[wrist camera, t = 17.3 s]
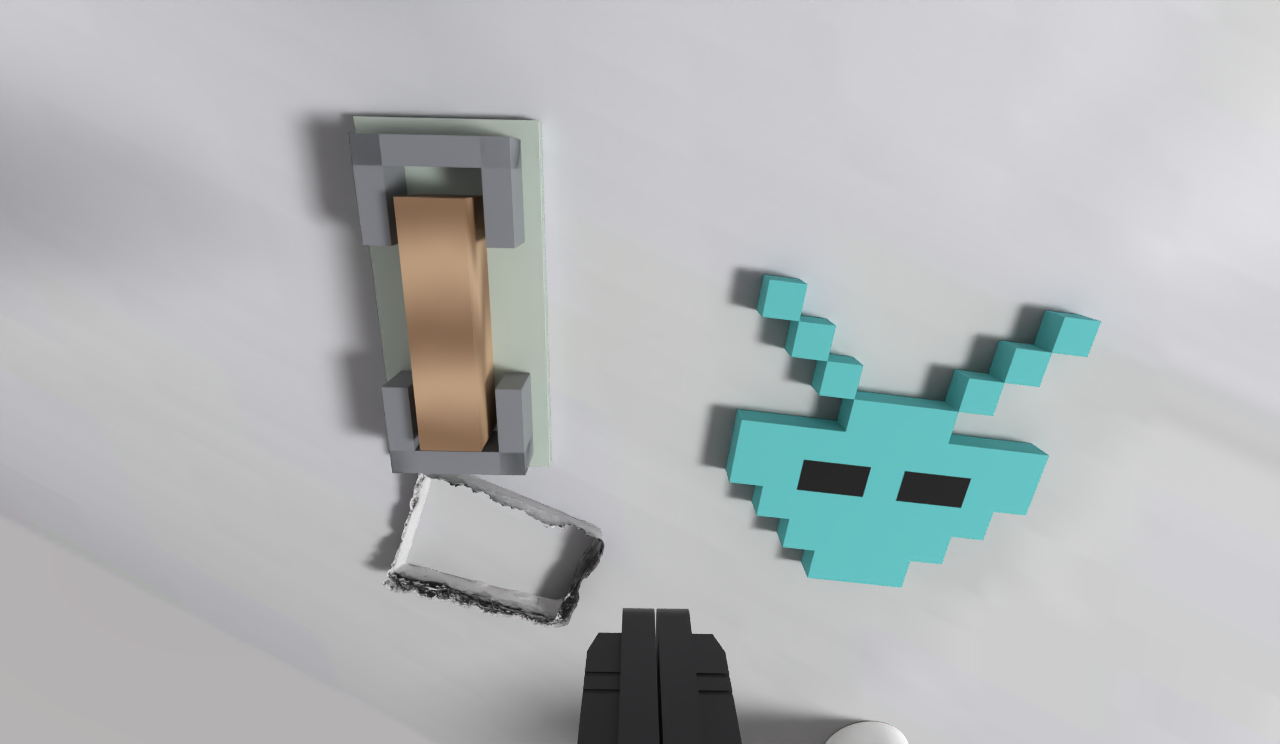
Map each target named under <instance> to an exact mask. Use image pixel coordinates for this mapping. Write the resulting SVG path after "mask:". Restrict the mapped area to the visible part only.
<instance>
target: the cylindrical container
mask: <svg viewBox="0 0 1280 744" xmlns="http://www.w3.org/2000/svg"><path fill="white" fill-rule="evenodd" d="M825 744H908V742H907V740H906V738H905V737H904V735H903V734H902V733H901V732H900V731H899V730H898V729H896V728H895V727H893V726H891V725H888V724H886V723H881V722H872V721H868V722H859V723H855V724H851V725H849V726H846V727H844V728H842V729H840V730H839V731H837V732H836V733H835V734H833V735H832V736H831V737H830V738H829V739H828V741H827V742H826V743H825Z"/></svg>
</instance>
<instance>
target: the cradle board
mask: <svg viewBox="0 0 1280 744" xmlns="http://www.w3.org/2000/svg"><path fill="white" fill-rule="evenodd" d="M353 119H354V127H355V133H363V134H408V135H453V136H498V137H512V138H516V139H520V140H521V160H522V184H523V208H524V232H525V242H524V243H522V244H521V245H519V246H518V247H516V248H487V262H488V279H489V296H490V313H491V330H492V347H493V364H494V381H495V389H496V387H497V386H498V384H499V383H500V381H501V380H502V378H503V377H504V375H505V374H506V372H508V373H530V375H531V399H532V423H533V447H534V453H533V456H532V459H531V461H530V464H529V466H537V467H550V464H551V460H552V454H551V422H550V389H549V357H548V325H547V293H546V261H545V229H544V196H543V164H542V132H541V122H540V121H538V120H497V119H453V118H408V117H364V116H353ZM405 175H406V185H407V195H415V194H445V195H483V189H482V173H481V168H463V167H417V166H405ZM369 246H370V254H371V262H372V270H373V278H374V286H375V294H376V302H377V310H378V318H379V326H380V333H381V341H382V349H383V357H384V365H385V373H386V381H387V382H388V381H389V380H391V379H392V378H393V377H394V376H395V375H397V374H398V373H399V372H400V371H412V368H411V359H410V350H409V340H408V331H407V321H406V312H405V302H404V293H403V284H402V274H401V265H400V255H399V246H398V244H396V245H393V246H372V245H369ZM495 398H496V395H495ZM496 415H497V411H496ZM493 431H498V427H497V424H496V426H495V428H494V430H493Z"/></svg>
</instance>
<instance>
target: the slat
mask: <svg viewBox="0 0 1280 744" xmlns="http://www.w3.org/2000/svg"><path fill="white" fill-rule="evenodd" d="M393 199H394V208H395V218H396V227H397V236H398V246H399V255H400V265H401V274H402V284H403V293H404V302H405V312H406V321H407V331H408V340H409V350H410V359H411V368H412V378H413V387H414V397H415V406H416V415H417V425H418V434H419V444H420V450H426V451H474V452H481V451H482V449H483V448H484V446H485V444H486V442H487V440H488V439H489V437H490V435H491V433H492V431H493V430H494V428H495V426H496V424H497V415H496V398H495V381H494V364H493V347H492V330H491V313H490V296H489V279H488V262H487V248H486V237H485V221H484V205H483V195H445V194H415V195H406V196H396V197H393Z"/></svg>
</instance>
